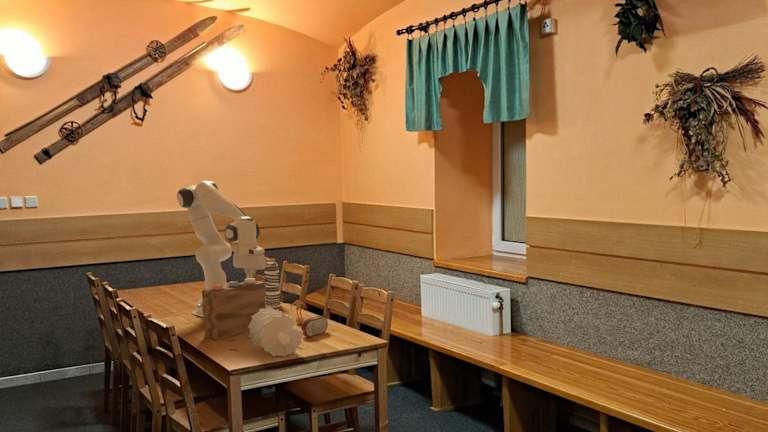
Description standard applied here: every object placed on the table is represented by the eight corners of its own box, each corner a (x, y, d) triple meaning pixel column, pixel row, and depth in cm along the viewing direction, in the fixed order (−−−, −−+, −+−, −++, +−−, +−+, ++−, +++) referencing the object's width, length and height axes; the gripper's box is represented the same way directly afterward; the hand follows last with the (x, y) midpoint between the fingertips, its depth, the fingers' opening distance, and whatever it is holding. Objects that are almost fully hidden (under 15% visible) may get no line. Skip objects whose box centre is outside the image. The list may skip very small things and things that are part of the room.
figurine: (293, 325, 339) (292, 301, 338) (289, 323, 344) (288, 299, 344) (309, 323, 342) (308, 300, 342) (305, 321, 348) (304, 298, 347)
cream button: (242, 284, 338) (242, 279, 337) (250, 282, 342) (250, 277, 341) (249, 285, 335) (249, 280, 334) (257, 283, 339) (256, 278, 338)
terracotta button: (209, 291, 322) (209, 286, 322) (218, 289, 326) (218, 284, 326) (216, 292, 319) (216, 286, 319) (225, 290, 323) (224, 285, 323)
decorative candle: (278, 308, 384) (276, 263, 382) (262, 307, 386) (260, 263, 384) (283, 304, 393) (281, 261, 391) (268, 304, 395) (266, 261, 393)
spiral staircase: (275, 369, 280) (257, 352, 302) (311, 345, 287) (290, 330, 309) (255, 333, 275) (238, 318, 297) (292, 309, 281) (272, 297, 303)
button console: (204, 336, 323) (202, 290, 321) (252, 323, 347) (250, 280, 345) (218, 339, 317) (215, 292, 315) (266, 326, 341) (264, 282, 339)
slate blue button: (226, 287, 330) (226, 282, 330) (234, 286, 334) (234, 281, 333) (233, 288, 327) (233, 283, 326) (241, 286, 331) (241, 281, 330)
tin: (324, 331, 326) (323, 313, 325) (329, 332, 324) (328, 314, 323) (301, 338, 314) (300, 320, 314) (306, 339, 312) (305, 320, 312)
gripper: (229, 249, 341) (230, 277, 342) (257, 251, 328) (258, 280, 329) (239, 247, 346) (240, 275, 347) (267, 249, 333) (268, 277, 334)
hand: (249, 277), depth 338 cm, fingers closed
